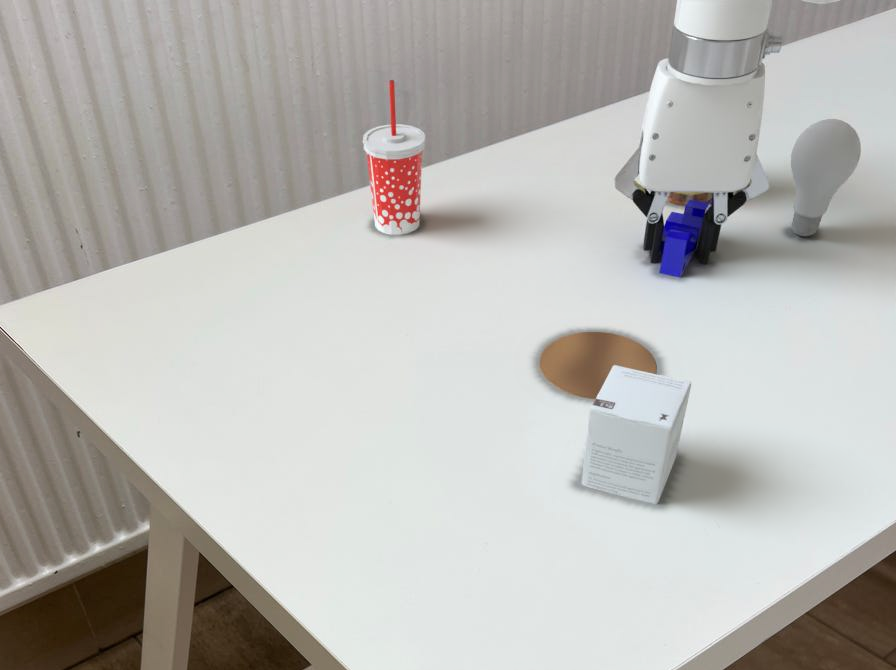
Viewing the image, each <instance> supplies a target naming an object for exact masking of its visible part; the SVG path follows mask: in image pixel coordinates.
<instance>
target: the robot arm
mask: <svg viewBox="0 0 896 670" xmlns="http://www.w3.org/2000/svg"><path fill="white" fill-rule="evenodd" d="M773 1H774V0H676V6H675V11H674V20H673V25H672V31H671V32H672V33H671V39H670V44H669V51H668V58H663V59H661V60H660V61H658V64H657V66H656V69H655V72H654V74H653V77H652V81H651V85H650V88H649V93H648V97H647V99H646V104H645V110H644V115H643V120H642V125H641V128H640V129H641V130H640V136H639V142H638V145H637V146H638V147H637V149H636V150H635V152H634V153H633V154H632V155H631V157H629V159H628V160H627V161H626V163H625V164H624V165H623V166H622V168H621V169H620V170H619V171H618V173H617V174H616V175H615V176H614V188H615V189H616V190H617V191H618V192H620V193H621V194H623V195H624V196H625V197H626V198H628V199H630V200H631V201H632V202H633V204H634V205H635V206H636V207H637V209H639V211H640V212H641V213H642V214H643V215H644V216H645V217H646V224H645V229H644V237H643V245H642V247H643V251H644V252H649V259H650V261H649V262H650V264H657V263H659V259H660V253H661V252H660V248H661V242H662V237H663V231H664V225H665V222H664V213H663V211H664V208H665V206H666V203H667V202H668V201H667V198H668V195H669V193H670V192H711V199H710V205H709V208H708V210H706V213H704V216H703V221H702V226H701V231H700V236H699V241H698V246H697V249H696V252H697V256H698V257H697V258H698V263H699V264H701V265H708V263H709V258H710V254H711V253H716V251H717V246H718V243H719V237H720V234H721V228H722V225H724V224H725V223H726V222H727V221H728V217H730V216H732V214H734V213H735V212H736V211H737V210H739V209H740V208H741V207H743V206H744V205H745V204H746V203H747V202H748V201H750V200H753V199H754V198H756V197H758V196H760V195H762V194H764V193H765V192H767V191H768V190H769V189H770V182H769V179H768V176H767V174H766V171H765V169H764V168H763V165H762V163H761V160H760V158H759V156H758V154H757V153H758V147H759V140H760V134H761V126H762V118H763V111H764V100H765V92H766V91H765V88H766V65H765V64H764V63H763V60H765V58H766V56H768V55H769V56H770V54H779V53H780V52H781V49H782V45H783V34H781V33H779V34H778V33H775V34H774V32H771V31H770V30H769V28H768V24H769V20H770V14H771V11H772V7H773ZM801 1H802V2H806V3H812V4H821V5H822V4H823V5H824V4H831V3H837V2H840V1H841V0H801ZM637 177H638V180H639V181H636V180H635V179H636V178H637ZM638 182H639V183H638Z"/></svg>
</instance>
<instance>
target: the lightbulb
mask: <svg viewBox="0 0 896 670" xmlns="http://www.w3.org/2000/svg"><path fill="white" fill-rule="evenodd" d="M861 147H862V145H861V139H860V137H859V134H858V132H857V131H856V129H855V128H854V127H853V126H852V125H851V124H849V123H848V122H846V121H844V120H842V119H839V118H838V119H837V118H826V119H823V120H822V119H821V120H819V121H817V122H814V123H812V124H811V125H809V126H808V127H807V128H805V130H803V131H802V133H801V134H800V135H799V136H798V138H796V140H795V143H794V145H793V147H792V150H791V154H790V168H791V173H792V177H793V181H794V186H795V198H794V203H793V210H794V213H793V217H792V222H791V226H790V229H791V231H792V232H793V233H794V234H796V235H798V236H799V237H810V236H813V235H815V234H817V232H818V229H819V226H820V224H821V221H822V218H823V216H824V215H825V214H826V212H827V211H828V208H829V206H830V203H831V201H832V199H833V196H835V194H836V193H837V191H839V189H840V188H841V187H842V186H843V185H844V184H845V183H846V181H847V180H848V179H849V178H850V177H851V176H852V174H854V172H855V170H856V168H857V167H858V165H859V162H860V158H861V152H862V149H861Z"/></svg>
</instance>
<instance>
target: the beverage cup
mask: <svg viewBox="0 0 896 670" xmlns="http://www.w3.org/2000/svg"><path fill="white" fill-rule="evenodd" d="M388 87H389V107H390V108H389V109H390V110H389V111H390V124H384V125H378V126H376V127H373V128H371V129H369V130H367V131H366V132H365V133H364V134H363V135H362V145H363V150H364V151H365V153H366V161H367V168H368V169H367V170H368V176H369V178H368V179H369V186H370V193H371V194H370V195H371V201H372V210H373V218H374V226H375V229H377V231H378V232H381V233H383V234H386V235H391V236H402V235H407V234H410V233H412V232H414V231H416V230H417V229H418V228H419V227H420V219H421V218H420V216H421V215H420V214H421V190H422V167H423V165H422V164H423V150H425V148H426V147H425V146H426V134H425V133H424V132H423V130H422V129H420V128H418V127H415V126H413V125H408V124H401V123H399V124H398V123H397V118H396V114H397V113H396V94H395V93H396V92H395V80H394V79H390V80H389V81H388Z"/></svg>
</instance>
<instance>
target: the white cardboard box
mask: <svg viewBox="0 0 896 670" xmlns="http://www.w3.org/2000/svg"><path fill="white" fill-rule="evenodd" d="M691 389H692V382H691V381H690V380H684V379H680V378H676V377H670V376H665V375H661V374H657V373H656V374H652V373H648V372H643V371H639V370H634V369H630V368H626V367H621V366H617V365H613V367H612V369H611V371H610V373H609V375H608V376H607V378H606V380H605V382H604V384H603V386H602V388H601V390H600V392H599V393H598V395H597V397H596V399H594V401H593V403H592V405H591V406H590V408H589V412H588V421H587V431H586V440H585V449H584V458H583V466H582V475H581V476H582V477H581V485H582V486H584V487H587V488H590V489H594V490H598V491H600V492H605V493H608V494H612V495H616V496H621V497H624V498H629V499H631V500H632V499H633V500H636V501H640V502H645V503H650V504H653V505H658V504H659V502H660V500H661V498H662V497H661V496H662V494H663V492H664V489H665V487H666V484H667V481H668V479H669V477H670V473H671V471H672V469H673V466H674V464H675V461H676V458H677V455H678V449H679V445H680V440H681V436H682V430H683V425H684V421H685V416H686V411H687V407H688V402H689V398H690V393H691Z"/></svg>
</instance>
